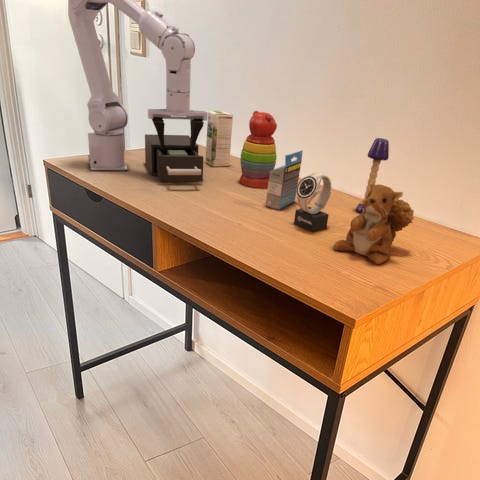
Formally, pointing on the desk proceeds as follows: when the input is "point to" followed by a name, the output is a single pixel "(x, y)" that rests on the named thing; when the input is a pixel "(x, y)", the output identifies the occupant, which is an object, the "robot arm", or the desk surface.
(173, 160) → the black drawer
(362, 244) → the stuffed squirrel
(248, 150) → the stacking bear
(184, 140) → the small drawer cabinet
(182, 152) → the block
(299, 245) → the desk surface
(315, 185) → the watch
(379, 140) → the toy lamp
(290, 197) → the label tape box
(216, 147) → the syrup box
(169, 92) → the robot arm
